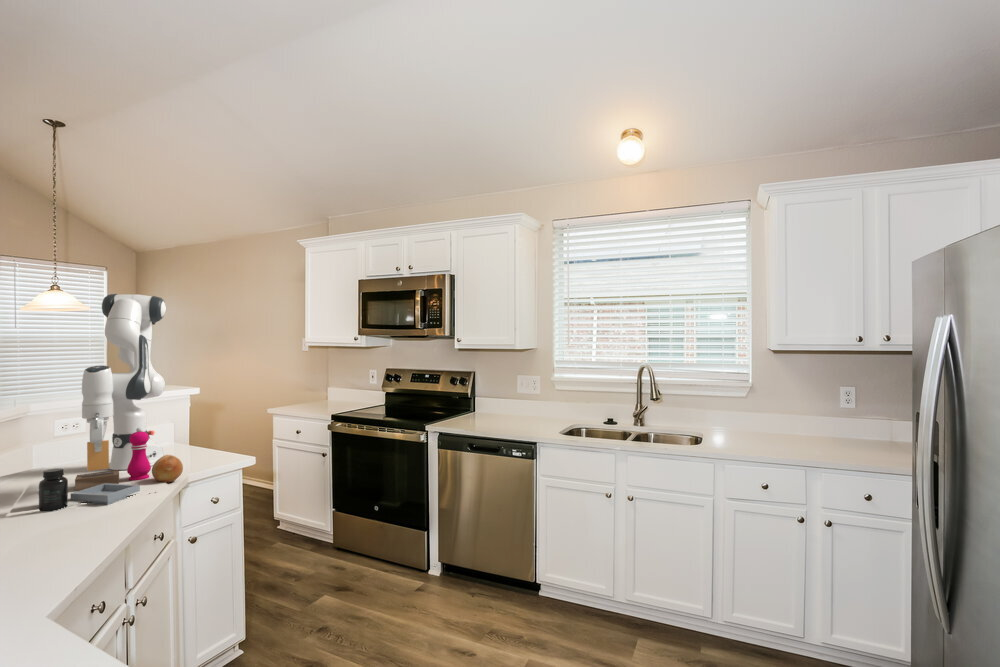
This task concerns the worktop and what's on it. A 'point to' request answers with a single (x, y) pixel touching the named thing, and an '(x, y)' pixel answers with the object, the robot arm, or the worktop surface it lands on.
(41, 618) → the worktop surface
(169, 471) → the onion
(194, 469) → the worktop surface
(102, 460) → the orange tan rectangular panel
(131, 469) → the pepper mill
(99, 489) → the tray
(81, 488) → the dispenser
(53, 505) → the supplement bottle
